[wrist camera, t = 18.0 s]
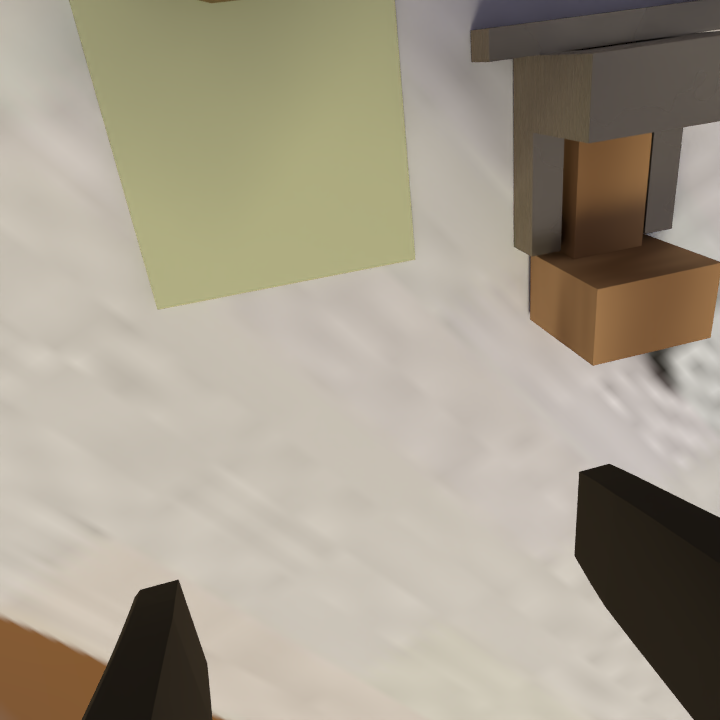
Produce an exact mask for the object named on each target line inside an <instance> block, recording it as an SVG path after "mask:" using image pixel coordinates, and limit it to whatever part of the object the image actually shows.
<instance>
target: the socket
mask: <svg viewBox="0 0 720 720" xmlns="http://www.w3.org/2000/svg"><path fill="white" fill-rule="evenodd" d="M718 29H720V0H699V1H692V2H684V3H677V4H669V5H661V6H654V7H646V8H639V9H631V10H623V11H616V12H608V13H601V14H593V15H585V16H578V17H570V18H563V19H555V20H547V21H540V22H532V23H525V24H517V25H509V26H502V27H494V28H487V29H479V30H471V61H472V62H492V61H499V60H506V59H513V76H514V247H515V248H517V249H519V250H521V251H523V252H524V253H526V254H528V255H530V256H537V255H542V254H547V253H552V252H557V251H561V228H562V196H563V165H564V139H568V140H573V141H579V142H584V143H594V142H600V141H606V140H612V139H617V138H623V137H629V136H635V135H641V134H647V133H652V139H651V150H650V161H649V172H648V183H647V193H646V204H645V215H644V226H643V234H647V233H652V232H657V231H662V230H666V229H671V228H672V221H673V212H674V203H675V194H676V185H677V177H678V168H679V159H680V150H681V142H682V133H683V127H688V126H694V125H700V124H705V123H711V122H717V121H720V31H716V32H704V31H711V30H718ZM697 32H701V33H697ZM633 41H636V43H631V44H624V45H617V46H610V47H603V48H596V49H589V50H577V49H584V48H591V47H598V46H605V45H612V44H619V43H626V42H633ZM570 50H576V51H570Z"/></svg>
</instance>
